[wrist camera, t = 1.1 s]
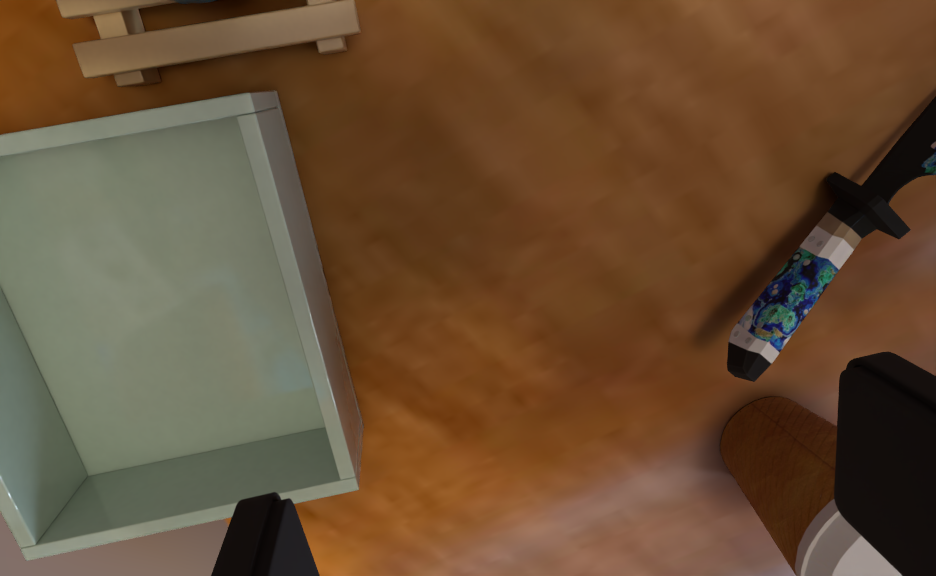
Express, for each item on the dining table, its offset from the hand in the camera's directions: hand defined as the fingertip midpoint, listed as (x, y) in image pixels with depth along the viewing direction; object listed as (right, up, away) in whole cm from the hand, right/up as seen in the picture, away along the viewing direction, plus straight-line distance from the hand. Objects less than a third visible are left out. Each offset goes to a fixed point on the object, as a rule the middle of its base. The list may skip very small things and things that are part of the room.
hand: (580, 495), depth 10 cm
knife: (+22, +11, +25) cm, 35 cm away
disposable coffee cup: (+18, -7, +30) cm, 36 cm away
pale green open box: (-18, +3, +22) cm, 29 cm away
